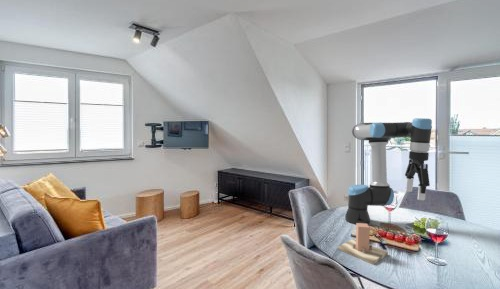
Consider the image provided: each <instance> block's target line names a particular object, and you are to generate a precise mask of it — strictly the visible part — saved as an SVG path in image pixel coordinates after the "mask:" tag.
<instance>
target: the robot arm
mask: <svg viewBox="0 0 500 289" xmlns="http://www.w3.org/2000/svg"><path fill="white" fill-rule="evenodd" d="M432 123H433V121H432V119H431V118H413V119H412V121H410V122H409V121H404V122H403V121H401V122H362V123H357V124H356V125H354V126H353V128H352V129H351V132H352V136H353V137H354V138H355V139H357V140H360V141H368V145H370V147H371V148H370V150H371V151H370V152H371V154H370V155H371V182H370V183H369V186H368V185H367V184H353V185H351V186H349V188H348V193H347V194H348V198H347V199H348V200H347V201H348V204H347V205H348V206H347V207H348V208H347V210H346V213H345V218H344V219H345V221H346V222H347V223H350V224H353V225H356V223H365V224H368V225H369V224H371V218H370V214H369V210H368V206H375V207H376V206H380V207H385V206H387V205H388V206H391V205H392V203H393V202H394V198H395V193H394V190H393V188H392V187H391V186H390V183H388V177H387V176H388V175H387V174H388V173H387V145H388V144H389V141H390V140H391V139H393V138H410V141H409V142H410V143H409V150H410V151H409V153H408V164H407V168H406V170H405V174H404V176H405V177H406V183H405V192H408V193H409V192H411V193H412V192H413V189H414V188H413V187H414V186H413V185H414V179H415V177H414V176H415V174H416V173H417V178H418V183H419V184H418V185H417V186H418V190H417V200H418V201H425V200H426V194H427V187H430V186H431V185H430V179H429V178H430V177H429V176H430V175H429V170H428V169H429V168H428V167H429V164H428V163H425V162H427V161H428V160H429V156H430V155H429V154H430V153H429V151H430V147H431V145H430V144H431V136H432V129H433V127H432ZM388 206H387V207H388Z"/></svg>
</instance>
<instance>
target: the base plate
mask: <svg viewBox="0 0 500 289" xmlns="http://www.w3.org/2000/svg"><path fill="white" fill-rule="evenodd" d="M337 250H338V251H340V252H344V253H346V254H347V255H350V256H352V257H354V258H357V259H359V260H362V261H364V262H367V263H369V264H371V265H375V264H377V263H378V262H380V260H383V259H384V258H386V257H387V256H388V255H389V252H388V251H387V250H384V249H382V248H379V247H376V246H373V245H371V244H369V252H365V248H363V251H358V250H357V247H356V238H352V239H350V240H348V241H346V242H344V243H342V244H340V245H338V246H337Z"/></svg>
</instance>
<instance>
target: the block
mask: <svg viewBox="0 0 500 289" xmlns="http://www.w3.org/2000/svg"><path fill="white" fill-rule="evenodd" d="M355 225H356V226H355V231H356V232H355V234H356V235H355V240H356V247H357V250H358V251H363V248H365V252H369V245H370V230H371V229H370V226H369V224H365V223H356V224H355Z"/></svg>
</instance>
